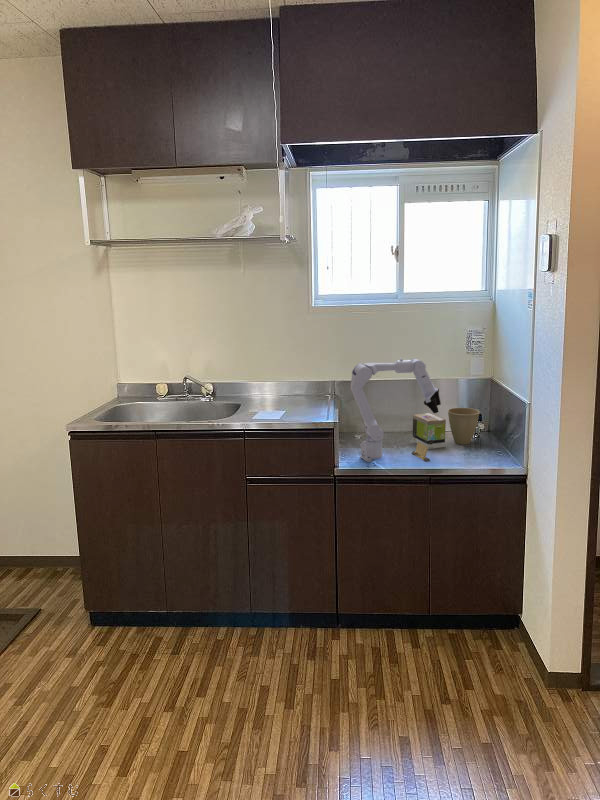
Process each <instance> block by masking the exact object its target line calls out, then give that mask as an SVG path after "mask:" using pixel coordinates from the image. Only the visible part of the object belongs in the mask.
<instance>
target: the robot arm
mask: <svg viewBox="0 0 600 800" xmlns="http://www.w3.org/2000/svg"><path fill="white" fill-rule="evenodd" d="M386 371H388V372H389V371H394V372H396V373H397V374H407V373H408V374H410V373H411V374H412V373H413V375H414V378H415V380H416V382H417V383H418V386H419V388H420V389H421V392H422V394H423V397H424V401H423V405H425V406H426V407H428V408H429V409H430V411H431V412H432V414H437V413H439V408H438V406H441V404H442V403H441V399H440V388H438V387H437V388H436V386H435V384H433V381H432V380H431V378H430V376H429V373H428V371H427V365H426V363H424V361H422V360H420V359H417V358H410V359H403V358H399V359H398V360H395V361H394V362H364V363H358V364H356V365H355V366H354V368H353V369H352V371H351V380H350V390H351V392H352V395H353V397H354V399H355V400H354V401H355V402H356V404H357V407H358V409H359V412H360V415H361V417H362V419H363V422H364V423H363V424H364V426H365V427H364V428H365V430H364V432H365V434H366V435H367V436H366V440H362V441H361V442H360V456H359V458H361V459H363V460H364V461H365V462H367V463H370V462H375V459H381V458H382V457H383V438H384V435H385V433H384V430H383V429H382V428H381V427H380V426H379V424H378V422H377V420H376V418H375V416H374V414H373V411H372V409H371V406H370V403H369V401H368V399H367V396H366V393H365V391H364V387H365V385H366V384H367V383H368V382H369V380H371V378H372V377H373V376H375V375H376V374H377V373H378V372H386Z"/></svg>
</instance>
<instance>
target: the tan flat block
mask: <svg viewBox="0 0 600 800" xmlns="http://www.w3.org/2000/svg"><path fill="white" fill-rule="evenodd" d="M415 447H416V448H415V450H414V451H415V452H416V453H415V454H414V455H413V456H415V457H417V458H418V459H421V460H422V461H424V458H427V453H428V450H429V449H428V447H427V446H425V445H423V444H422V443H420V442H418V443H416V446H415Z"/></svg>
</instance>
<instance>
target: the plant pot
mask: <svg viewBox="0 0 600 800" xmlns="http://www.w3.org/2000/svg"><path fill="white" fill-rule="evenodd" d="M447 415H448V422H449V427H450V431H451V435H452V438H453V441H454V443H455V444H457V445H469V444H471V443H472V439H473V437H474V435H475V432H476V429H477V426H478V423H479V416H480V410H478V409H476V408H471V407H470V408H469V407H451V408H449V409H448V410H447Z"/></svg>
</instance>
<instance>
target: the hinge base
mask: <svg viewBox="0 0 600 800" xmlns="http://www.w3.org/2000/svg"><path fill="white" fill-rule="evenodd" d="M415 451H416V450H413V451H412V452H411V455H413V456H415V455H414V454H415V453H416V452H415ZM430 461H431V459H430V458H429V457H425V458H424V460H423V462H424V463H425V462H430Z"/></svg>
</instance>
